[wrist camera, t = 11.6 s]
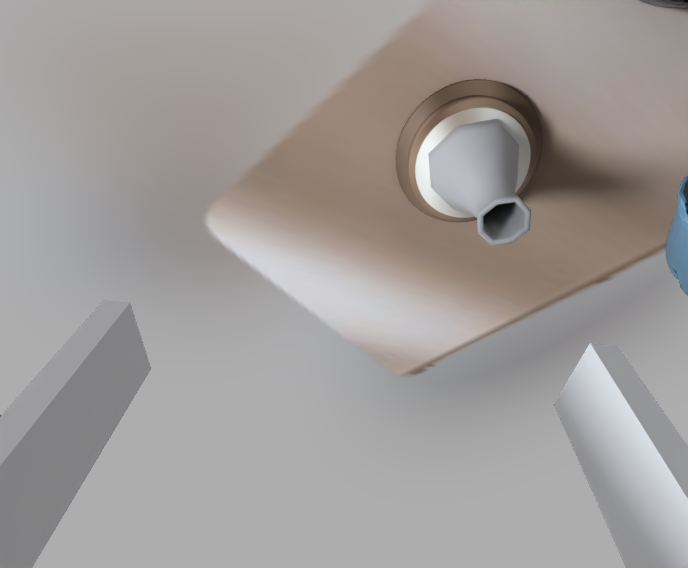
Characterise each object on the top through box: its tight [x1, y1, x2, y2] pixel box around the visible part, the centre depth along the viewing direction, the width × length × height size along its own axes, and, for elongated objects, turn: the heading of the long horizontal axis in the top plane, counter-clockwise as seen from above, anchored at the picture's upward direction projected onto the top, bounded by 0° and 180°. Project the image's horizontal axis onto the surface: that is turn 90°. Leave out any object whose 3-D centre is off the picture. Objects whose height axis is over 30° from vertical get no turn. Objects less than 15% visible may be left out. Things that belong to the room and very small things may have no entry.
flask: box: [428, 119, 531, 245], centre depth 28 cm, size 7×7×10 cm
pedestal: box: [396, 79, 542, 222], centre depth 33 cm, size 12×12×3 cm
